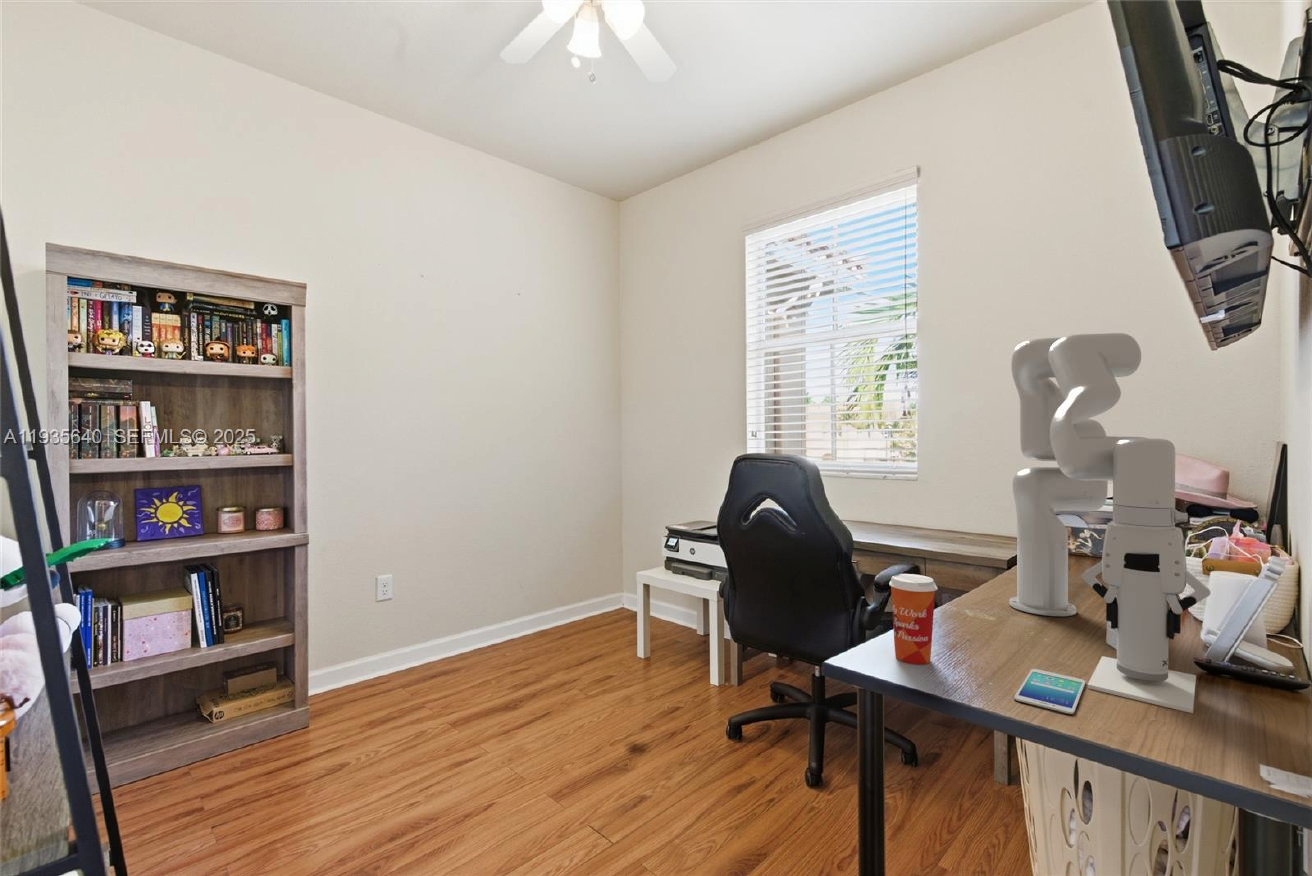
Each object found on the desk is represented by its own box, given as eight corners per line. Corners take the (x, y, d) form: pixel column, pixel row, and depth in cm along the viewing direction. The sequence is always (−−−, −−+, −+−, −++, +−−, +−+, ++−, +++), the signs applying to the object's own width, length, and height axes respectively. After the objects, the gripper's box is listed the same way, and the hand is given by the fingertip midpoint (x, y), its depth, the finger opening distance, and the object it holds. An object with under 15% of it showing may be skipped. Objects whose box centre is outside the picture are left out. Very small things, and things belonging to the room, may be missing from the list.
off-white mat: (1102, 659, 103) (1102, 656, 103) (1195, 679, 95) (1195, 675, 95) (1087, 688, 91) (1087, 684, 91) (1192, 713, 83) (1193, 709, 83)
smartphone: (1087, 680, 93) (1074, 713, 82) (1087, 685, 93) (1074, 719, 82) (1031, 667, 98) (1012, 697, 87) (1031, 672, 98) (1012, 703, 87)
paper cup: (880, 657, 104) (880, 577, 104) (902, 647, 109) (902, 571, 109) (924, 671, 98) (924, 586, 98) (945, 659, 103) (946, 579, 103)
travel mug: (1180, 683, 89) (1182, 551, 89) (1131, 680, 90) (1132, 549, 90) (1154, 667, 95) (1155, 543, 95) (1108, 664, 97) (1109, 542, 96)
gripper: (1219, 520, 90) (1218, 639, 90) (1079, 510, 101) (1079, 614, 102) (1219, 526, 84) (1218, 652, 84) (1071, 514, 96) (1071, 625, 96)
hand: (1142, 630), depth 93 cm, fingers closed on travel mug, 6 cm apart
